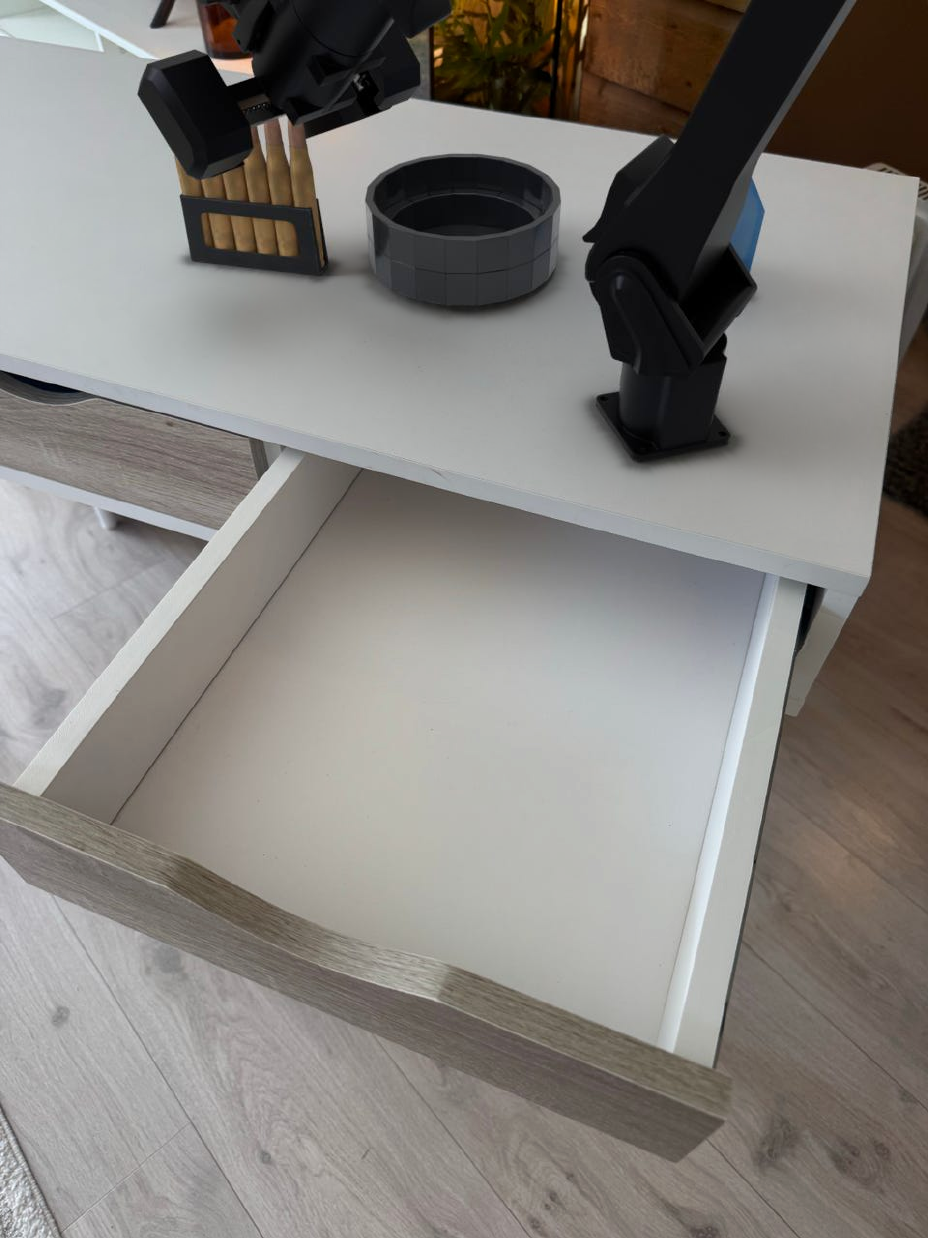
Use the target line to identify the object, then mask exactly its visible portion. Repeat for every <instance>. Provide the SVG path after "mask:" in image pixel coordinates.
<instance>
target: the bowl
mask: <svg viewBox="0 0 928 1238" xmlns="http://www.w3.org/2000/svg"><path fill="white" fill-rule="evenodd" d="M561 196H562V195H561V189H560V187H559V186H558V185H557V183H556V182H555V181H554V180H553V179H552V177H551V176H550V175H548V174H547V173H545V172H544V171H541V170H540V169H538V168H537V167H535V166H533V165H530V164H528V163H525V162H521V161H518V160H515V159H512V158H509V157H504V156H496V155H491V154H484V153H445V154H436V155H429V156H422V157H418V158H414V159H411V160H410V159H409V160H407V161H404V162H400V163H398V164H396V165H394V166H391V167H390V168H388V169H386V170H384V171H382V172H381V173H380V172H379V174H378V175H376V177H375V178H374V179H373V180H372V181H371V182H370V183H369V184H368V186H367V188H366V193H365V198H364V206H365V218H366V231H367V232H366V233H367V244H368V255H369V264H370V266H371V269H372V271H373V272H374V275H375V277H376V278H377V279H378V280H379V281H380V282H382V283H383V284H384V285H385V286H387V287H388V288H389V289H391V290H392V291H393V292H395V293H398V294H400V295H403V296H405V297H408V298H410V299H412V300H415V301H419V302H425V303H430V304H436V305H442V306H451V307H452V306H454V307H474V306H484V305H490V304H496V303H501V302H502V303H503V302H507V301H510V300H512V299H515V298H519V297H520V296H523V295H527V294H529V293H531V292H533V291H534V290H536V289H537V288H538V287H540V286H541V285H543V284H544V283H545V282H547V281H548V280H549V279H550V277H551V275H552V273H553V271H554V270H555V268H556V266H557V259H558V248H559V247H558V246H559V234H560V221H561V208H562V197H561Z"/></svg>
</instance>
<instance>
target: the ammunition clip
mask: <svg viewBox="0 0 928 1238" xmlns="http://www.w3.org/2000/svg"><path fill="white" fill-rule="evenodd" d="M279 119H280V118H278V119H275V120H272V121H270V122H267V123H264V124H263V133H264V141H265V152H266V153H265V154H266V156H265V155H264V153H263V147H262V143H261V139H260V134H259V129H258V128H259V127H258V126H256V127H253V128H251V133H252V139H253V145H254V148H253V150H252V152H251V153H250V155H249V157H248V158H246V159H245V160H243V161H244V163H245V165H244V166H242V167H239V168H237V169H234V170H231V171H229V172H226V173H224V174H221V175H218V176H216V177H213V178H206V179H203V180H199V181H196V180H195V178H193V177H191V176H188V175H187V174H186V172H185V171H184V169H183V168H182V166H181V164H180V163H179V161H178V159H177V158H176V156H175V155H174V154H173V158H174V163H175V168H176V172H177V177H178V181H179V185H180V190H181V193H180V195H179V200H180V205H181V211H182V216H183V222H184V227H185V232H186V238H187V239H186V240H187V244H188V249H189V255H190V259H191V261H192V262H198V263H199V262H200V263H208V264H217V265H224V266H233V267H241V268H250V269H258V270H268V271H275V272H284V273H291V274H292V273H293V274H304V275H312V276H318V277H319V276H320V275H322V274H323V273H324V271H325V269H326V268H327V266H328V265H329V263H330V262H329V256H328V250H327V245H326V238H325V237H326V236H325V231H324V225H323V220H322V214H321V208H320V207H321V206H320V200H319V198H318V197H317V193H316V185H315V178H314V177H315V176H314V170H313V164H312V161H311V158H310V154H309V148H308V143H307V139H306V136H305V130H304V126H303V123H301V124H298V125H296V126H292V124H291V122H290V121H289V119H288V118H287V137H288V144H289V145H288V150H289V159H288V157H287V154H286V148H285V144H284V139H283V134H282V128H281V124H280V120H279ZM265 157H266V158H265Z"/></svg>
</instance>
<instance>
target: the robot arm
mask: <svg viewBox="0 0 928 1238" xmlns="http://www.w3.org/2000/svg"><path fill="white" fill-rule="evenodd" d="M197 1H198V3H200V5H202V6H203V7H209V6H212V5H215V4H220V5H221V6H222V7H223V9H225V10H226V12H227V13H229V15H230V16H231V17H232V18H233V19H235V20H236V24H235V25H234V27H233V29H232V31H231V36H232V38H233V40H234V41H235V43H236V45H237V46H238V48H239V50H240V51H241V53H242V54H246V53H249V55H250V56H251V57H252V59H251V61H250V64H251V70H252V73H253V77H251V78H247V79H243V80H242V81H238V82H236V83H233V84H232V83H231V84H229V85H227V84H226V82H225V80H224V79H223V77H222V75H221V73H220V72H219V70H218V69H217V66H216V65H215V64H214V62H213V60H212V59H211V56H210V55H209V54H208V53H206V52H203V51H200V50H198V49H192V50H188V51H185V52H182V53H179V54H175V55H172V56H168V57H165V58H162V59H159V60H155V61H152V62H148V63H146V65H145V68H144V71H143V72H142V75H141V78H140V81H139V84H138V89H137V97H138V98H139V100H140V102H141V103H142V104H143V106H144V108H145V109H146V111H147V112H148V115H149V116H150V118H151V119H152V121H153V122H154V124H155V126H156V128H157V129H158V130H159V132H160V133H161V135H162V137H163V138H164V140H165V142H166V143H167V145H168V147H169V148H170V150H171V151H172V154H173V156H174V155H175V156H176V158H177V159H178V161H179V163H180V164H181V166H182V168H183V169H184V171H185V172H186V174H187V175H188V176H191V177H193V178H195V180H196V181H199V180H203V179H206V178H213V177H216V176H218V175H221V174H224V173H226V172H229V171H231V170H234V169H237V168H239V167H242V166H244V165H245V163H244V161H243V160H245V159H246V158H248V157H249V155H250V153H251V152H252V150H253V148H254V145H253V139H252V133H251V128H253V127H256V126H257V127H258V126H261V125H264V123H267V122H270V121H272V120H275V119H281V118H284V117H286V118H287V120H288V119H289V121H290V122H291V124H292V126H296V125H298V124H301V123H303V126H304V130H305V136H306V140H308V139H311V138H314V137H317V136H319V135H322V134H325V133H329V132H330V131H334V130H337V129H339V128H342V127H345V126H349V125H351V124H353V123H354V124H355V123H356V122H360V121H362V120H365V119H368V118H370V117H373V116H375V115H378V114H381V113H383V112H386V111H389V110H390V109H391V108H393V107H394V106H397V105H399V104H402V103H404V102H407V101H409V100H410V99H411V97H412V96H413V95H414V94H415V92H416V91H417V90H418V89H419V88H420V86H421V79H422V78H421V62H420V60H419V58H418V56H417V55H416V53H415V51H414V50H413V48H412V46H411V44H410V42H409V40H408V39H410V40H411V39H413V38H415V37H417V36H418V35H420V34H422V33H424V32H425V31H426V30H429V29H430V28H432V27H433V26H435V25H437V24H438V23H440V22H441V21H443V20H445V19H446V18H448V17H450V16H451V14H452V10H453V9H452V4H451V0H197ZM857 1H858V0H750V2H749V3H748V6H747V7H746V9H745V11H744V13H743V15H742V17H741V19H740V20H739V23H738V24H737V26H736V28H735V30H734V32H733V33H732V36H731V37H730V39H729V40H728V43H727V45H726V46H725V48H724V51H723V53H722V54H721V56H720V58H719V60H718V62H717V63H716V65H715V67H714V70H713V71H712V73H711V75H710V77H709V79H708V81H707V83H706V85H704V86H705V87H704V88H703V90H702V92H701V94H700V96H699V98H698V99H697V101H696V103H695V105H694V107H693V109H692V111H691V113H690V114H689V117H688V118H687V120H686V122H685V124H684V126H683V127H682V129H681V132H680V133H679V135H678V137H677V139H676V141H675V142H673V140H672V139H670V138H669V136H668V135H666V134H665V133H662V134H660V135H659V136H658V137H656V139H654V140H653V141H652V142H651V143H649V144H648V145H647V146H646V147H645V148H644V149H643V150H641V151H640V152H639V153H638V154H637V155H636V156H634V157H633V158H632V159H631V160H629V161H628V162H627V163H626V164H625V165H624V166H623V167H622V168H620V169H619V170H618V171H617V172H616V173H615V175H614V177H613V180H612V182H611V184H610V187H609V189H608V191H607V196H606V198H605V202H604V206H603V209H602V212H601V214H600V216H599V218H598V220H597V222H595V224H594V226H593V227H591V228H590V229H588V231H587V232H585V234H584V235H582V238H581V239H582V241H583V242H584V243H585V244H592V245H591V247H590V248H589V251H588V253H587V256H586V260H585V263H584V279H585V281H586V282H587V283H588V285H589V288H590V292H591V295H592V297H593V298H594V300H595V301H596V303H597V305H598V306H599V310H600V314H601V319H602V323H603V328H604V332H605V337H606V341H607V346H608V351H609V355H610V358H611V359H612V360H615V361H618V362H620V363H622V366H621V372H620V379H619V390H617V391H612V392H608V393H607V392H606V393H602V394H599V395H597V396H596V399H595V405H596V407H597V409H598V410H599V411H600V413H601V416H603V418H604V419H605V421H606V422H607V423H608V425H609V426H610V428H611V429H612V431H613V433H614V435H616V438H617V439H618V440H619V442H620V443H621V445H622V446H623V448H624V449H625V450H626V452H627V453H628V455H629V457H630V458H631V459H632V460H634V461H637V462H643V461H648V460H653V459H658V458H663V457H669V456H673V455H678V454H682V453H688V452H693V451H697V450H702V449H703V450H704V449H708V448H712V447H717V446H724V445H726V444H728V443H729V442H730V440H731V433H730V431H729V430H728V429H727V427H726V426H725V425H724V423H722V421H721V420H720V419H719V418H718V416H717V415H716V413H715V411H716V408H717V404H718V399H719V395H720V392H721V387H722V384H723V383H722V382H723V379H724V374H725V369H726V367H727V362H728V357H727V356H726V355H725V354H726V350H727V346H728V336H727V335H726V331H727V330H728V328H729V327H730V326H731V324H733V322H734V321H735V319H737V318H738V317H739V316H740V315H741V314H742V313H743V311H744V310H745V308H746V307H747V306H748V304H749V303H750V301H751V300H752V298H753V297H754V296H755V294H756V292H757V291H758V284H757V282H756V280H755V279H754V278H753V275H752V274H751V272H750V273H749V271H748V270H747V268H746V266H745V265H744V263H743V262H742V260H741V258H740V257H739V255H738V254H737V252H736V250H735V249H734V247H733V246H732V244H731V242H730V239H731V237H732V235H733V232H734V230H735V227H736V225H737V223H738V220H739V218H740V216H741V213H742V211H743V208H744V205H745V202H746V198H747V194H748V190H749V187H750V183H751V179H753V175H754V171H755V169H756V166H757V164H758V161H759V159H760V157H761V156H762V154H763V153H764V150H766V147H767V146H768V144H769V143H770V141H771V139H772V138H773V136H774V135H775V133H776V131H777V130H778V128H779V126H780V125H781V123H782V122H783V120H784V118H785V117H786V115H787V113H788V112H789V111H790V109H791V107H792V105H793V103H794V102H795V101H796V99H797V98H798V96H799V95H800V94H801V93H800V92H801V91H802V89H803V88H804V86H805V84H806V83H807V81H808V80H809V78H810V77H811V75H812V73H813V72H814V70H815V69H816V67H817V65H818V63H819V62H820V61H821V59H822V57H823V55H825V53H826V51H827V49H828V47H829V46H830V44H831V43H832V41H833V39H834V38H835V37H836V35H837V33H838V32H839V30H840V28H841V27H842V25H843V23H844V22H845V20H846V18H848V17H847V16H848V15H849V14H850V13H851V11H852V9H853V7H854V6H855V4H856V2H857Z"/></svg>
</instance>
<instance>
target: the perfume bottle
mask: <svg viewBox="0 0 928 1238" xmlns="http://www.w3.org/2000/svg"><path fill="white" fill-rule="evenodd" d="M765 212H766V210H765V208H764V205H763V202H762V199H761V197H760V194H759V192H758V189H757V187H756V184H755V181H754V179H753V178H752V179H751V183H750V187H749V190H748V194H747V198H746V202H745V205H744V208H743V211H742V213H741V216H740V218H739V220H738V223H737V225H736V227H735V230H734V232H733V235H732V237H731V239H730V242H731V244H732V246H733V247H734V249H735V250H736V252H737V254H738V255H739V257H740V258H741V260H742V262H743V263H744V265H745V266H746V268H747V270H748V271H749V273H750V274H751V271H752V267H753V263H754V258H755V255H756V250H757V245H758V242H759V237H760V234H761V229H762V225H763V221H764V216H765Z"/></svg>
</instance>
